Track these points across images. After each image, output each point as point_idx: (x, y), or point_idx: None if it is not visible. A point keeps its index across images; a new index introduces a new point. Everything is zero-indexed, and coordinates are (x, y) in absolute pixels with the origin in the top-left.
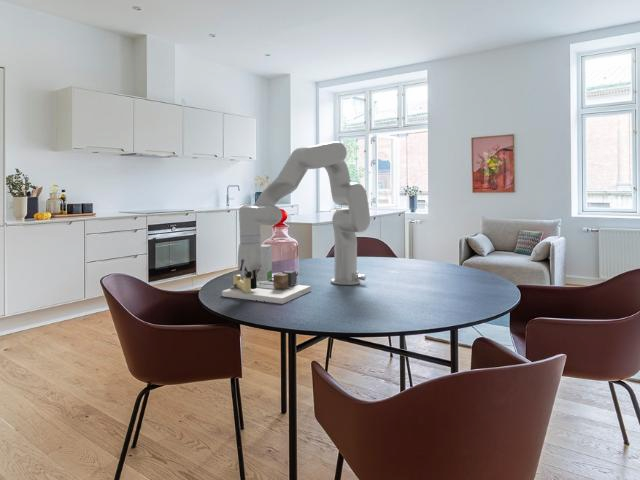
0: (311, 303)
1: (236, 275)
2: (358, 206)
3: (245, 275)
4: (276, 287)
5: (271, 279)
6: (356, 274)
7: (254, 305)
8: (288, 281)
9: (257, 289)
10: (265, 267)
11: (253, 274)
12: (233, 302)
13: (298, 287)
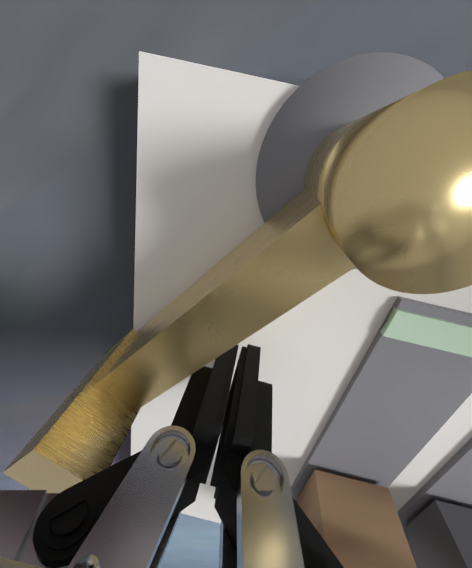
0: (188, 532)
1: (376, 205)
2: None
3: (84, 483)
4: (307, 488)
5: None
6: None
7: (60, 386)
8: (421, 560)
9: (295, 376)
10: None
11: (235, 533)
12: (46, 268)
13: None
